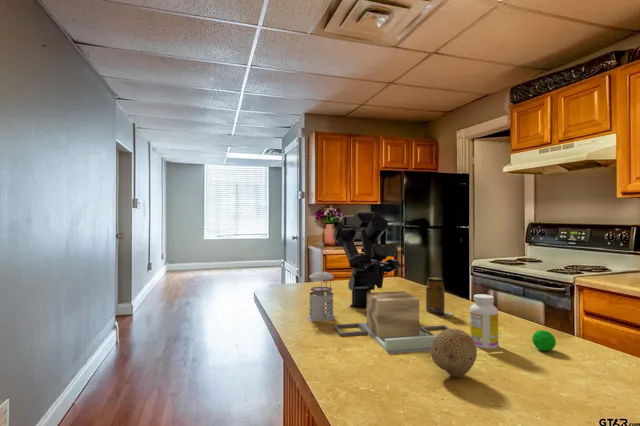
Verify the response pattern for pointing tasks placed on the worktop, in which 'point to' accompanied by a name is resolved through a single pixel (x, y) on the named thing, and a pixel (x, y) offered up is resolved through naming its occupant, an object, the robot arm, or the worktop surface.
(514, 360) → the worktop surface
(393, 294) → the oak block
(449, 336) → the natural sponge
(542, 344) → the polyhedron
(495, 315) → the supplement bottle
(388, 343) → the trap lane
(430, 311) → the condiment
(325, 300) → the french press
